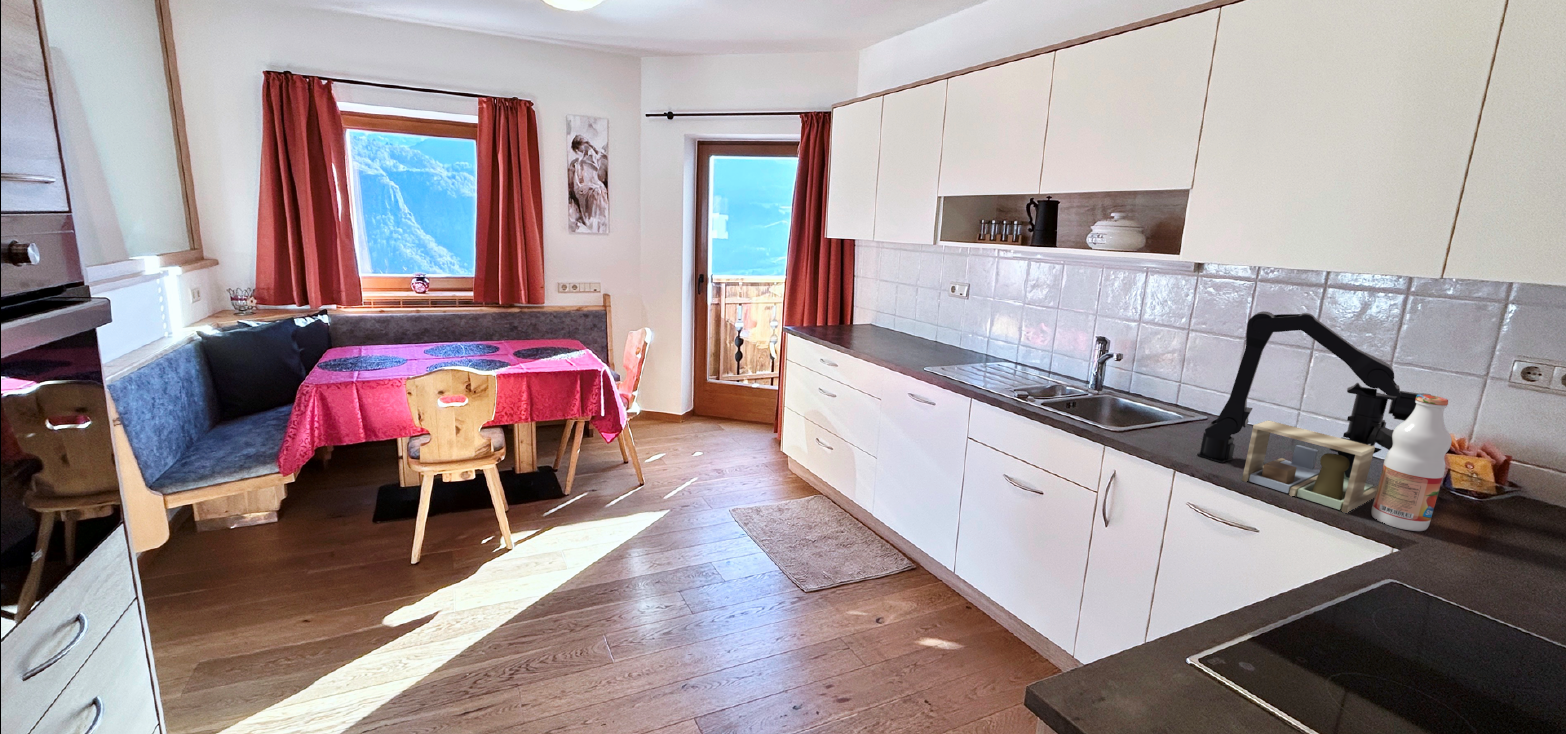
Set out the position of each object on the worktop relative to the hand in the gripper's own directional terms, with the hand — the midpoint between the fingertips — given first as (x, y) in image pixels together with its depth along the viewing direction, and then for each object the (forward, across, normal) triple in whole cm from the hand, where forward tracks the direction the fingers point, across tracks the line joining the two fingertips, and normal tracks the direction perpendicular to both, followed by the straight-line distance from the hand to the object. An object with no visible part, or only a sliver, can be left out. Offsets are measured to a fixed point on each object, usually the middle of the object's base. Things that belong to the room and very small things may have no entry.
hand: (1351, 476), depth 165 cm
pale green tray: (+3, -9, 0) cm, 9 cm away
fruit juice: (+3, -14, -13) cm, 19 cm away
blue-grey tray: (+3, -9, +10) cm, 14 cm away
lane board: (+3, -9, +5) cm, 11 cm away
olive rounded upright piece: (+3, -14, 0) cm, 15 cm away
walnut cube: (+3, -14, +10) cm, 18 cm away
